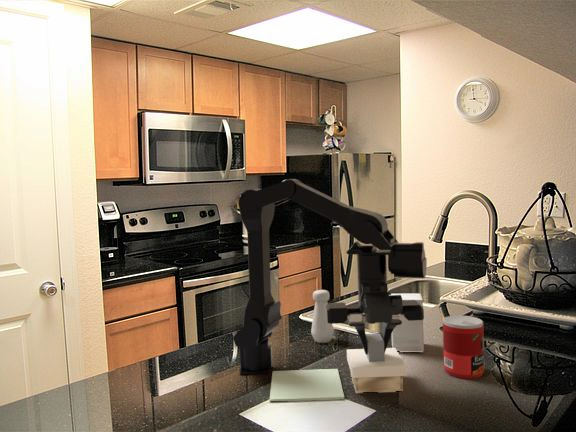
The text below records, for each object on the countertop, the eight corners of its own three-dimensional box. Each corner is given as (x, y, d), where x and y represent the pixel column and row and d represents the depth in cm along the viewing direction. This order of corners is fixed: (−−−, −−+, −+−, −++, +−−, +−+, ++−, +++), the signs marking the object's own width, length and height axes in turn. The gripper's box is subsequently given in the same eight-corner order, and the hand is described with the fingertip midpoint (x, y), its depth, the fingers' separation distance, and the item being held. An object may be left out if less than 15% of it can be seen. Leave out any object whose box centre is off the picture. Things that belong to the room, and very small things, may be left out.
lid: (352, 377, 93) (351, 346, 93) (346, 358, 104) (345, 330, 103) (406, 375, 93) (405, 344, 93) (395, 357, 103) (394, 329, 103)
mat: (269, 402, 92) (269, 399, 92) (272, 373, 106) (272, 371, 106) (344, 399, 92) (344, 396, 92) (337, 371, 106) (337, 368, 106)
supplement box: (424, 353, 114) (423, 300, 113) (392, 352, 116) (390, 299, 115) (422, 343, 121) (421, 292, 120) (391, 342, 123) (390, 292, 122)
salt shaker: (308, 342, 125) (306, 292, 124) (315, 336, 130) (313, 287, 130) (330, 344, 123) (328, 293, 122) (336, 337, 128) (335, 288, 127)
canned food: (480, 382, 97) (479, 327, 96) (439, 375, 101) (438, 322, 100) (487, 368, 103) (486, 317, 103) (448, 362, 108) (447, 313, 107)
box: (356, 393, 94) (355, 370, 94) (350, 375, 103) (349, 354, 103) (403, 391, 94) (402, 368, 94) (393, 373, 103) (392, 352, 103)
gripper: (327, 286, 89) (331, 370, 90) (430, 282, 89) (432, 366, 90) (324, 275, 100) (327, 350, 101) (415, 271, 100) (417, 346, 101)
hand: (374, 353), depth 98 cm, fingers closed on lid, 3 cm apart
